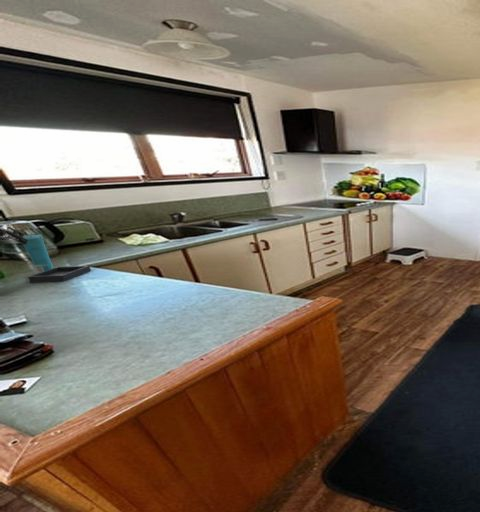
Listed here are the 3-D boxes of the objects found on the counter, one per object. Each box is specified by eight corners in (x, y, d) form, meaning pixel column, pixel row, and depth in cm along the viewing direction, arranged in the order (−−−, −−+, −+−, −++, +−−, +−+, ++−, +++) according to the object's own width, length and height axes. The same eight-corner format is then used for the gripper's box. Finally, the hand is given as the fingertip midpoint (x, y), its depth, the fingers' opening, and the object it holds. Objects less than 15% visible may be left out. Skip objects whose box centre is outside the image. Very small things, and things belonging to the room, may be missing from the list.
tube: (60, 270, 135) (44, 233, 129) (56, 273, 132) (39, 235, 125) (38, 273, 132) (20, 235, 125) (33, 276, 128) (14, 237, 122)
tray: (30, 282, 122) (27, 276, 121) (59, 271, 134) (57, 266, 133) (64, 280, 123) (62, 275, 122) (91, 270, 135) (89, 265, 134)
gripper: (-2, 213, 108) (37, 234, 122) (-50, 215, 104) (-4, 237, 119) (-11, 229, 104) (31, 249, 119) (-60, 232, 101) (-11, 252, 116)
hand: (14, 243), depth 119 cm, fingers open, 8 cm apart
